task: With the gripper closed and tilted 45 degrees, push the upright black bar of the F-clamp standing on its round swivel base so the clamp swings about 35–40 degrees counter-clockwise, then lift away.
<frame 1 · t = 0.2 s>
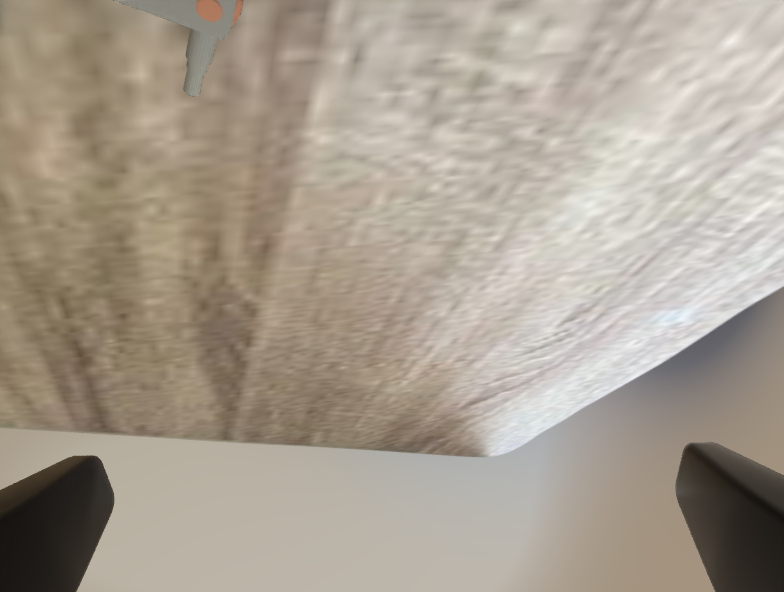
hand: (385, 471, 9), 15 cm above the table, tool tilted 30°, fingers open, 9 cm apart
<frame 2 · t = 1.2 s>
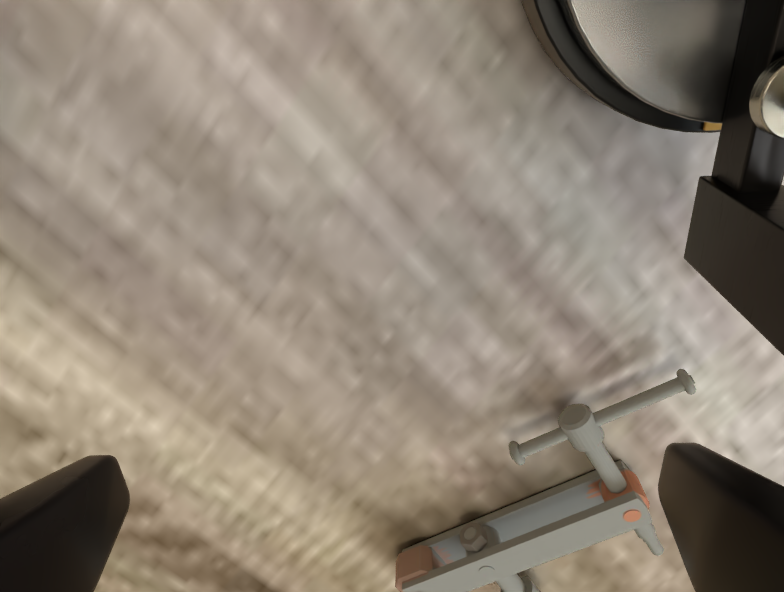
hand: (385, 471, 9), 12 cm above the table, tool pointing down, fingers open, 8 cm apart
clamp: (547, 500, 26), on the table
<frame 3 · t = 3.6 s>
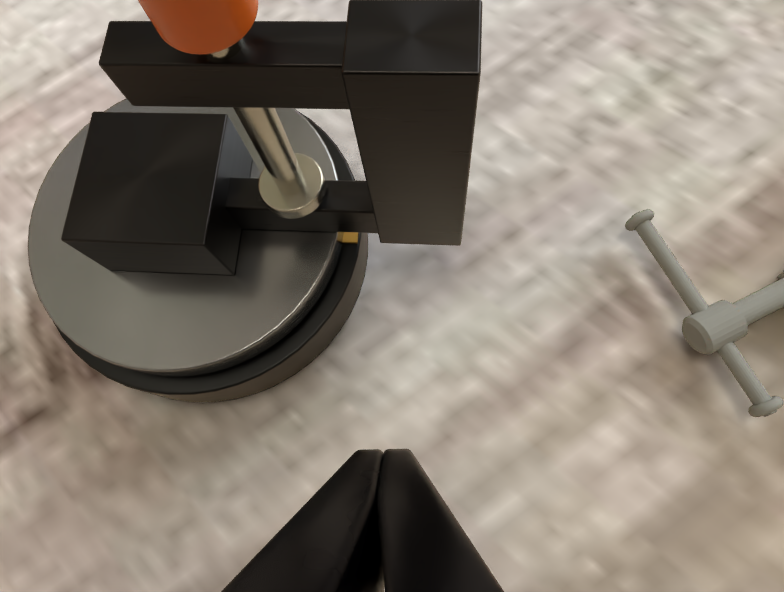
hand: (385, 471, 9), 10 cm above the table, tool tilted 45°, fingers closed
swivel base: (219, 251, 21), on the table
swivel clamp: (182, 138, 14), point 8 cm above the table, hinge at 0.0°
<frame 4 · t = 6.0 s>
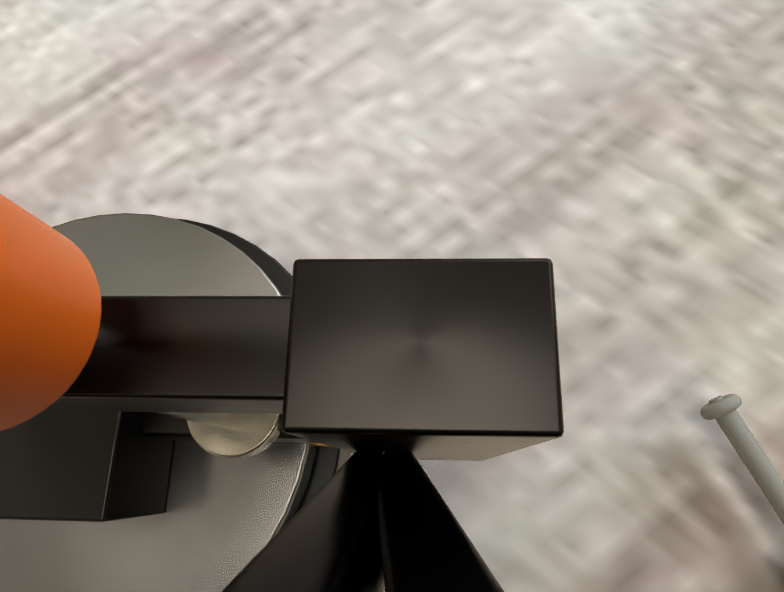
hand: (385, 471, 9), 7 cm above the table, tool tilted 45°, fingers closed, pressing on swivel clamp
swivel base: (157, 427, 16), on the table
swivel clamp: (50, 390, 9), point 8 cm above the table, hinge at 2.3°, touching gripper
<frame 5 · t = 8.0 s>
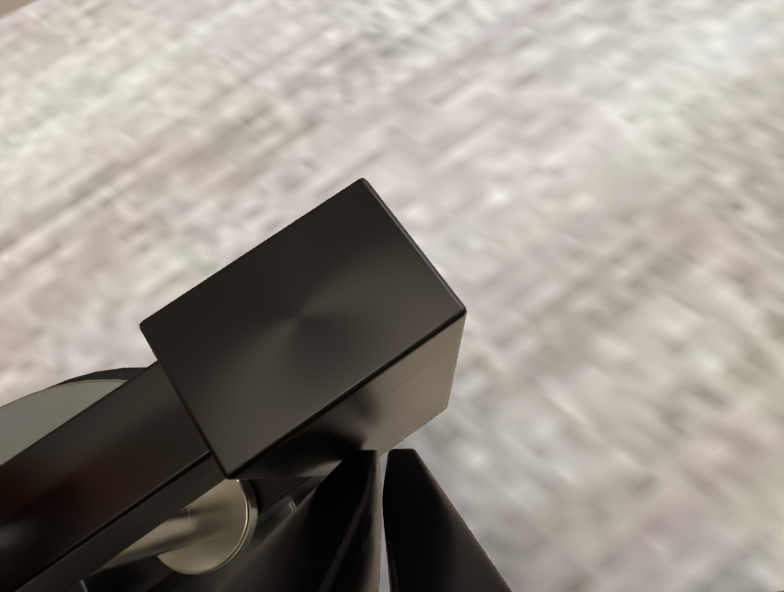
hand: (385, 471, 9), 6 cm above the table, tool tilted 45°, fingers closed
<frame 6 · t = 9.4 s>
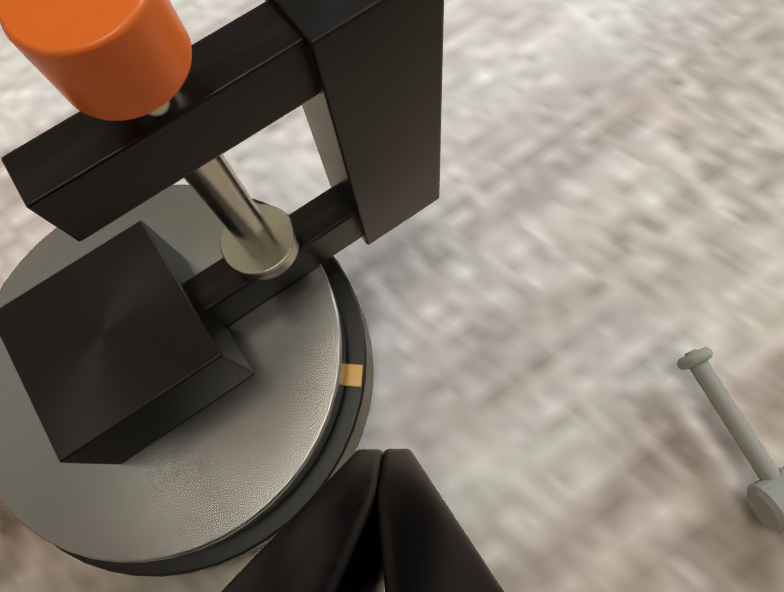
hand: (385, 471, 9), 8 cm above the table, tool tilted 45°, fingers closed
swivel base: (200, 375, 18), on the table
swivel clamp: (134, 258, 11), point 8 cm above the table, hinge at 38.8°
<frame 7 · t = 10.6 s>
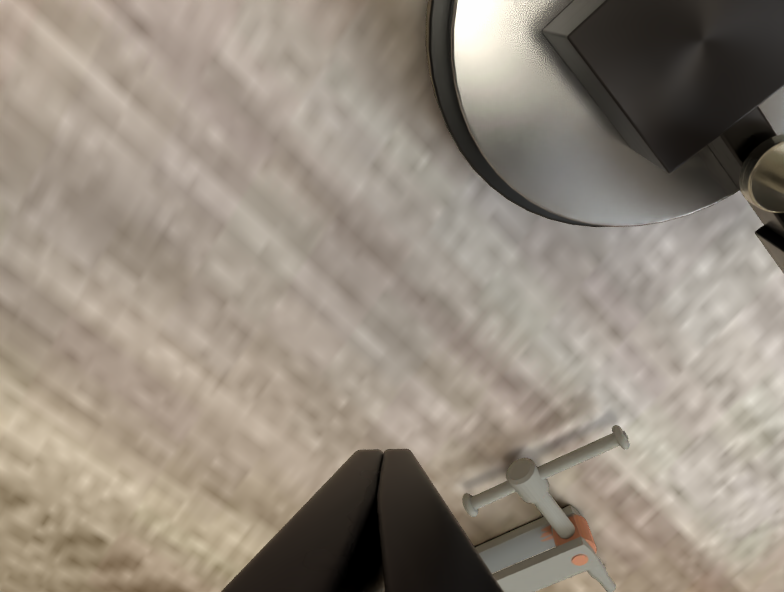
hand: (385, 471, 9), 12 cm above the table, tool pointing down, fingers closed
clamp: (505, 543, 27), on the table
swivel base: (612, 27, 17), on the table
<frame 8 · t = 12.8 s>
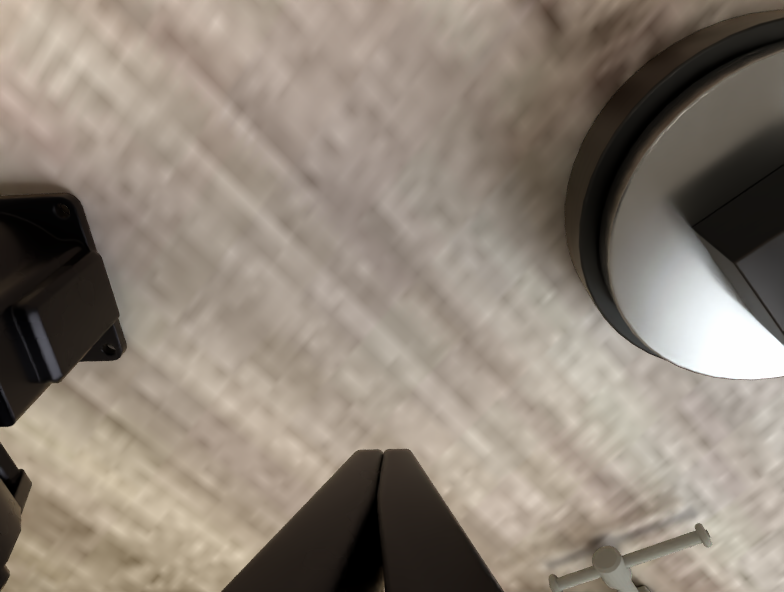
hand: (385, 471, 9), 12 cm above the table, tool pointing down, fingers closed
swivel base: (734, 196, 19), on the table
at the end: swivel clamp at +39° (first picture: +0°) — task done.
